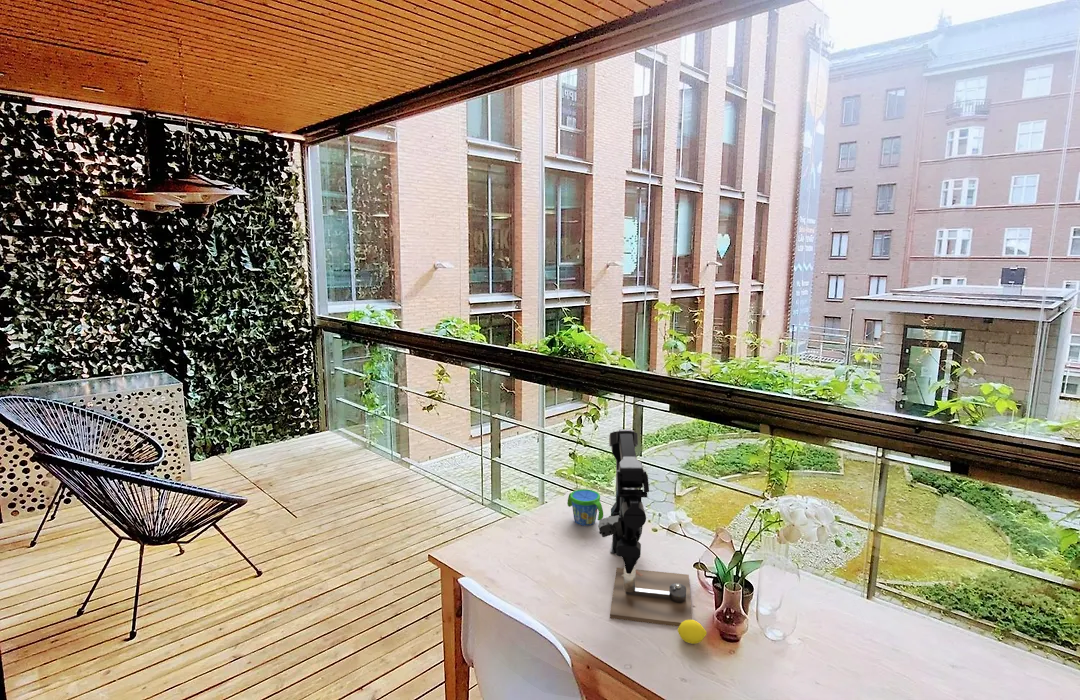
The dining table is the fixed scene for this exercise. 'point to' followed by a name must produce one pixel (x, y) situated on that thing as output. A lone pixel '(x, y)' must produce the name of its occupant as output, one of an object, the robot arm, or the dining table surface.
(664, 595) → the lever
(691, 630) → the lemon
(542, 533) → the dining table surface
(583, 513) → the snack cup
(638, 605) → the board
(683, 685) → the dining table surface
